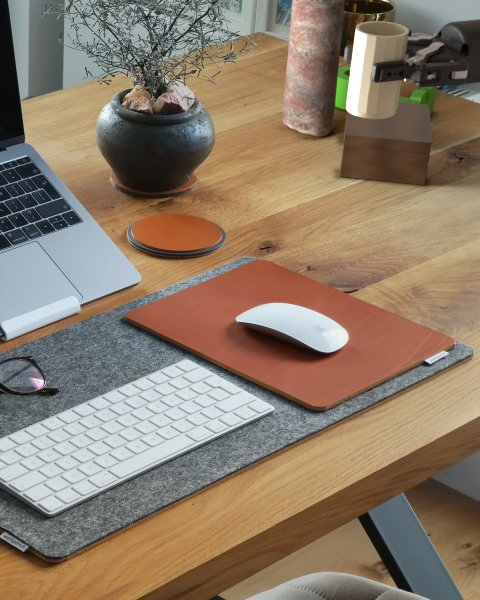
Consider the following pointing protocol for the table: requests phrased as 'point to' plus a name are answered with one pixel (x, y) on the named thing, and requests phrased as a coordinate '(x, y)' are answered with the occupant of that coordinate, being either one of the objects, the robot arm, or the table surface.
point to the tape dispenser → (417, 97)
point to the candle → (313, 65)
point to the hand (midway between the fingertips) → (359, 63)
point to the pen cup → (366, 52)
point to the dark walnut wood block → (388, 146)
